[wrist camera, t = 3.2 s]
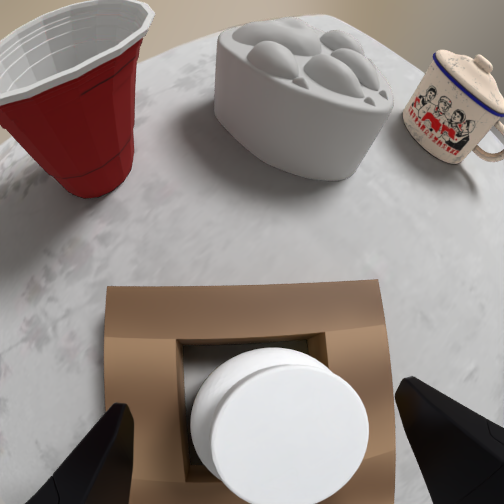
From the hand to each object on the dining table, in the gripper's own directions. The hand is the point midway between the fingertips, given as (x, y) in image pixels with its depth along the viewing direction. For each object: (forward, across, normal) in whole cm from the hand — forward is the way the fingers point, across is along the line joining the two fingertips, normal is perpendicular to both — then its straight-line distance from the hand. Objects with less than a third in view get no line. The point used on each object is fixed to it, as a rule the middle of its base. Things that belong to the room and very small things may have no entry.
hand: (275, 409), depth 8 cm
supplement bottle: (+5, 0, +6) cm, 8 cm away
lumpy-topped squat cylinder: (+20, -5, -8) cm, 22 cm away
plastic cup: (+16, +10, -5) cm, 20 cm away
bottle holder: (+5, 0, +6) cm, 7 cm away
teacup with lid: (+20, -23, -9) cm, 32 cm away
